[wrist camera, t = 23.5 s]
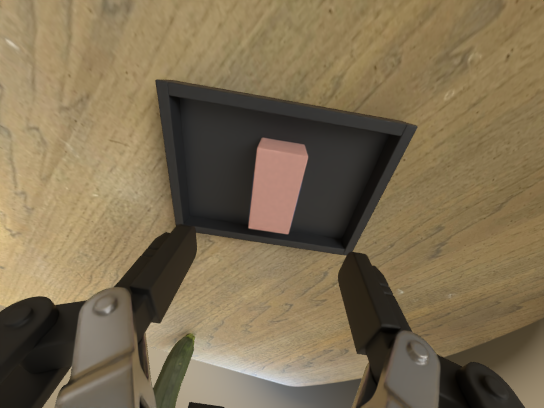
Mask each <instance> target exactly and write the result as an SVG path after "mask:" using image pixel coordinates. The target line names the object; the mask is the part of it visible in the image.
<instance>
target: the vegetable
mask: <svg viewBox="0 0 544 408" xmlns="http://www.w3.org/2000/svg"><path fill="white" fill-rule="evenodd" d="M194 339H195V336H193V335H192V334H189V335H186V336H185V337H183V338H182V339H181V340H179V341H178V342H177V343H176V344H175V345H174V347H173V348H172V350H171V352H170V353H169V355H168V357H167V359H166V361H165V363H164V365H163V367H162V370H161V372H160V374H159V377H158V379H157V381H156V383H155V386H154V388H153V391H154V396H155V401H156V408H175V404H176V400H177V396H178V393H179V390H180V386H181V383H182V381H183V378H184V376H185V373H186V370H187V368H188V365H189V362H190V359H191V357H192V354H193V351H194Z"/></svg>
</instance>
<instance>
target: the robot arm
mask: <svg viewBox="0 0 544 408" xmlns="http://www.w3.org/2000/svg"><path fill="white" fill-rule="evenodd" d="M196 252H197V242H196V229H195V227H194V226H190V225H184V224H178V225H177V226H176V227H175V228H174V230H173V231H172V232H171V233H167V232H165V233H164V234H162V235H161V236H159V237H157V238H156V239H155V240H154V241H153V242H152V243H151V244H150V246H149V247H148V249H146V250H145V251H144V253H143V254H142V256H140V257H139V258H138V260H137V261H136V262H135V263H134V264H133V265H132V267H131V268H130V269H129V270H128V271H127V273H126V274H125V275H124V276H123V277H122V278H121V280H120V281H119V282H118V283H117V284H116V285H115V286H114V287H113V288H108V289H105V290H102V291H100V292H98V293H97V294H95V295H93V296H92V297H91V298H90V299H88V300H86V301H80V302H73V303H66V304H60V305H54V303H53V302H52V301H51V300H50V299H49V298H47V297H40V296H38V297H31V298H27V299H24V300H21V301H19V302H16V303H14V304H12V305H10V306H9V307H7V308H5V309H4V310H2V311H1V312H0V408H42V407H43V406H44V404H45V403H46V401H47V400H48V399H49V397H50V396H51V394H52V393H53V392H54V390H55V389H56V387H57V386H58V385H59V383H60V382H61V380H62V379H63V377H64V376H65V375H66V373H67V372H68V370H69V369H70V368H71V366H72V369H71V376H70V380H69V382H68V384H66V385H64V386H63V387H62V388H61V390H60V392H59V394H58V396H57V400H56V404H55V408H156V401H155V396H154V391H153V388H152V382H151V375H150V367H149V358H148V350H147V341H146V333H145V332H146V330H147V328H148V326H149V325H150V323H151V322H153V323H161V321H162V319H163V317H164V315H165V313H166V311H167V310H168V308H169V306H170V304H171V302H172V300H173V298H174V296H175V294H176V293H177V291H178V289H179V287H180V285H181V283H182V281H183V279H184V278H185V276H186V274H187V272H188V270H189V268H190V266H191V264H192V263H193V261H194V259H195V256H196ZM338 282H339V287H340V290H341V294H342V298H343V302H344V306H345V310H346V314H347V317H348V321H349V325H350V329H351V333H352V337H353V340H354V344H355V348H356V352H357V354H362V355H367V357H368V360H369V363H368V364H367V366H366V368H365V371H364V374H363V377H362V380H361V383H360V385H359V388H358V392H357V394H356V397H355V400H354V403H353V406H352V408H525V407H524V406H523V404H522V403H521V401H520V400H519V399H518V397H517V396H516V394H515V393H514V391H513V390H512V389H511V388H510V386H509V385H508V384H507V383H506V382H505V381H504V380H503V379H502V378H501V377H500V376H499V375H498V374H496V373H495V372H494V371H492V370H491V369H489V368H488V367H486V366H484V365H482V364H480V363H476V362H470V363H468V364H467V365H465V366H463V367H462V366H460V365H458V364H456V363H454V362H451V361H449V360H447V359H445V358H443V357H441V356H439V355H437V354H436V353H435V352H434V350H433V349H432V347H431V346H430V345H429V344H428V343H427V342H426V341H425V340H424V339H423V338H421V337H420V336H419V335H417V334H415V333H413V332H412V330H411V329H410V327H409V325H408V323H407V321H406V319H405V317H404V315H403V313H402V311H401V309H400V307H399V305H398V303H397V301H396V299H395V297H394V296H393V293H392V291H391V289H390V287H388V286H389V285H388V283H387V281H386V279H385V277H384V275H383V274H382V273H381V272H380V271H379V270H378V269H377V268H376V266H372V265H371V263H370V261H369V259H368V257H367V255H366V254H362V253H355V252H349V253H348V255H347V256H346V258H345V260H344V262H343V264H342V266H341V268H340V270H339V274H338ZM188 408H224V407H221V406H214V405H207V404H200V403H193V402H189V406H188Z"/></svg>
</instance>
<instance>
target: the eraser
mask: <svg viewBox="0 0 544 408" xmlns="http://www.w3.org/2000/svg"><path fill="white" fill-rule="evenodd" d="M307 160H308V154H307V151H306V148H305V145H303V144H298V143H292V142H286V141H280V140H274V139H268V138H261V141H260V143H259V145H258V147H257V153H256V162H255V171H254V175H253V184H252V193H251V203H250V212H249V226H248V228H250V229H256V230H262V231H269V232H275V233H282V234H289V230H290V227H291V224H292V220H293V216H294V212H295V209H296V205H297V201H298V197H299V193H300V189H301V185H302V179H303V176H304V172H305V168H306V164H307Z"/></svg>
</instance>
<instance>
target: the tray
mask: <svg viewBox="0 0 544 408" xmlns="http://www.w3.org/2000/svg"><path fill="white" fill-rule="evenodd" d="M156 88H157V95H158V102H159V109H160V117H161V124H162V131H163V138H164V145H165V152H166V159H167V166H168V173H169V180H170V188H171V195H172V202H173V209H174V216H175V223H176V226H177V225H178V224H184V225H190V226H194V227H195V229H196V233H202V234H209V235H215V236H222V237H228V238H235V239H241V240H248V241H254V242H261V243H267V244H274V245H280V246H287V247H293V248H300V249H306V250H313V251H319V252H326V253H332V254H339V255H346V256H347V255H348V253H349V252H352V251H353V250H354V248H355V246H356V244H357V242H358V240H359V238H360V236H361V234H362V232H363V230H364V229H365V227H366V225H367V223H368V221H369V219H370V217H371V215H372V213H373V211H374V209H375V207H376V206H377V204H378V202H379V200H380V198H381V196H382V194H383V192H384V190H385V188H386V186H387V185H388V183H389V181H390V179H391V177H392V175H393V173H394V171H395V169H396V167H397V165H398V163H399V162H400V160H401V158H402V156H403V154H404V152H405V150H406V148H407V146H408V144H409V142H410V141H411V139H412V137H413V135H414V133H415V131H416V129H417V126H416V125H413V124H409V123H406V122H403V121H399V120H393V119H387V118H382V117H376V116H371V115H365V114H359V113H354V112H348V111H342V110H337V109H331V108H326V107H320V106H314V105H309V104H303V103H298V102H292V101H286V100H281V99H275V98H270V97H264V96H258V95H253V94H247V93H241V92H236V91H230V90H225V89H219V88H213V87H208V86H202V85H197V84H191V83H185V82H180V81H174V80H156ZM261 138H268V139H274V140H280V141H286V142H292V143H298V144H303V145H305V148H306V151H307V154H308V160H307V164H306V168H305V172H304V176H303V179H302V185H301V189H300V193H299V197H298V201H297V205H296V209H295V212H294V216H293V220H292V224H291V227H290V230H289V234H282V233H275V232H269V231H262V230H256V229H250V228H248V226H249V212H250V203H251V193H252V184H253V175H254V171H255V162H256V153H257V147H258V145H259V143H260V141H261Z"/></svg>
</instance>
